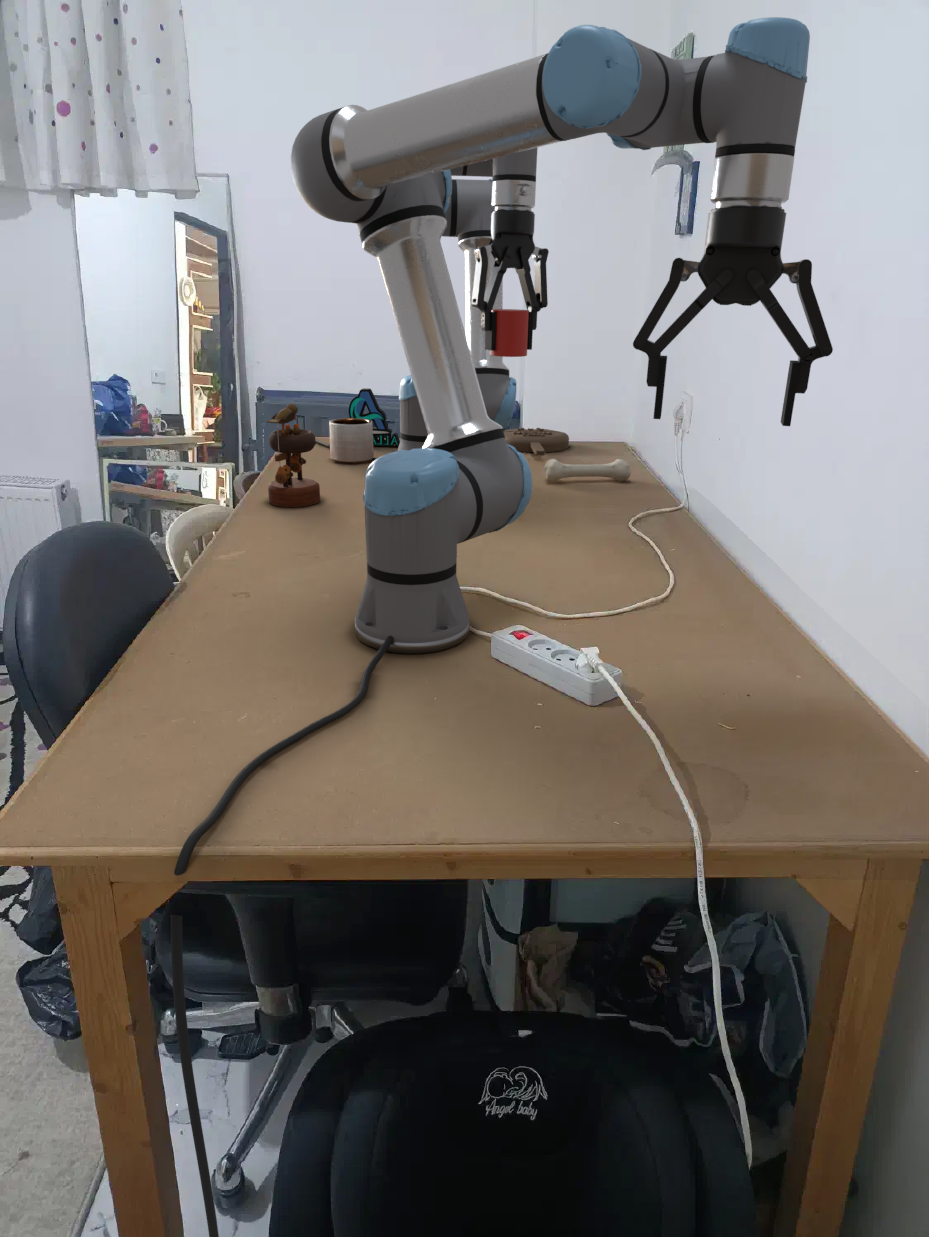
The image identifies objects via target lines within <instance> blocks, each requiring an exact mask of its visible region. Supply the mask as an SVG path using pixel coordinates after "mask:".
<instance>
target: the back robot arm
mask: <svg viewBox="0 0 929 1237" xmlns="http://www.w3.org/2000/svg"><path fill="white" fill-rule="evenodd" d="M538 149H539V147H537V148H533V149H529V150H525V151H521V152H517V153H513V154H509V155H505V156H501V157H497V158H493V159H489V160H485V161H481V162H477V163H473V164H469V165H465V166H461V167H457V168H453V169H450V171H451V177H483V178H484V177H485V178H486V177H487V178H489V179H464V178H463V179H462V178H461V179H460V178H459V179H457V178H455V179H454V178H452V194H451V195H449V198H448V201H449V202H450V203H449V206H448V209H447V211H446V213H445V217H446V221H447V227H446V229H445V231H444V233H443V234H442V236H441V237H447V238H457V247H458V248H459V249H460V250H461V251H462V252H463V253H464V271H465V272H464V286H465V287H464V292H465V294H464V295H465V296H464V298H465V300H464V301H465V305H464V307H465V312H464V313H465V314H464V315H465V316H464V317H465V320H464V321H465V322H464V323H465V325H464V326H465V335H466V338H467V342H468V346H469V349H470V353H471V357H472V360H473V364H474V368H475V371H476V375H477V379H478V382H479V386H480V390H481V393H482V397H483V401H484V404H485V408H486V412H487V415H488V417H489V418H490V419H491V420H493V421H494V422H496V423H498V424H499V425H501V426H502V428H503V430H504V429H506V428H507V427H509V426H510V425H511V422H512V419H513V415H514V411H515V406H516V401H517V400H516V398H517V380H516V378H514V377H513V376H510V368H509V367H508V366H507V365H506V364H505V363H504V357H501V356H492V355H490V350H491V351H495V340H496V312H491V311H492V310H493V309H504V275H505V274H506V273H507V270H508V269H514V270H515V273H516V274H517V277H518V280H519V285H520V288H521V293H522V295H523V299H524V303H525V308H526V310H529V319H528V343H527V351H529V350H530V351H531V350H532V349H533V333H534V331H536V330H537V327H538V326H537V325H538V324H537V323H538V312H540V311H541V309H545V308H547V307H548V304H549V301H548V300H549V299H548V277H547V275H548V274H547V260H548V256H549V249H548V248H547V247H546V248H541V247H538V246H536V243H535V241H534V234H535V222H536V221H535V218H536V214H535V212H534V211H532V209H534V208H535V207H536V192H537V191H536V190H537V167H538V166H537V163H538ZM491 178H492V179H491ZM531 256H532V259H533V278H534V279H533V278H532V275H531V270H532V268H531V265H530V261H529V259H530V258H531ZM533 280H534V281H533ZM398 400H399V439H400V444H399V447H397V450H396V451H400V450H407V451H409V450H411V449H415V448H422V447H423V445H424V443H425V441H426V439H427V436H428V432H427V429H426V425H425V422H424V418H423V415H422V411H421V408H420V404H419V401H418V397H417V394H416V390H415V387H414V383H413V380H412V376H411V374H409V375H406V376H404V377H403V378H402V379H401V381H400V383H399V396H398ZM315 444H319V445H322V446H324V447H327V448H329V449H330V443H326V442H324V441H321V440H318V439H316V443H315ZM377 458H378V457H377ZM377 458H376V457H373V459H372V460H371V461H372V462H373V461H375V460H376V459H377Z"/></svg>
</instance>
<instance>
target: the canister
mask: <svg viewBox="0 0 929 1237" xmlns="http://www.w3.org/2000/svg"><path fill="white" fill-rule="evenodd" d="M491 312H496V340H495V351H491V350H490V355H492V356H501V357H503V358H522V357H527V356H528V350H527V343H528V319H529V310H527V309H515V308H503V309H493V310H492V311H491Z"/></svg>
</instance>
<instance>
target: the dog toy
mask: <svg viewBox="0 0 929 1237" xmlns="http://www.w3.org/2000/svg"><path fill="white" fill-rule="evenodd" d="M543 469H544V475H545V480H546V481H547V482H559V481H560V480H562V479H567V478H579V477H580V478H583V477H584V478H585V477H586V478H589V477H590V478H591V477H596V478H600V477H601V478H611V479H613V480H616V481H618V482H622V481H626V480H629V479H630V477H631V474H632V471H631V468H630V464H629V463H628V462H627V461H625V460H624V459H623V458H616V459H615V460H614V461H612V462H609V463H601V464H599V463H598V464H590V463H589V464H587V463H586V464H584V463H583V464H568V463H562V462H560V461H559V460H558V459H556V458H551V459H548V460H547V461H546V462H545V465H544V467H543Z"/></svg>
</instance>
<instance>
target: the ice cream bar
mask: <svg viewBox="0 0 929 1237" xmlns="http://www.w3.org/2000/svg"><path fill="white" fill-rule="evenodd" d="M503 432H504V435H505V439H506V443H507V444H508V445H511V446H513V447H515V448H516V450H517V451H518V452H521V453H522V452H523V453H533V454H534V455H535V456H539V457H541V456H545V453H552V452H553V453H554V452H560V451H564V450H567V449H568V448H569V446H570V436H569V435H568V434H567V433H566V432H563V431H559V430H554V429H547V428H541V427H536V428H533V427H532V428H530V427H528V428H527V429H526V428H525V427H520V428H511V429H505V430H503Z"/></svg>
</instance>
